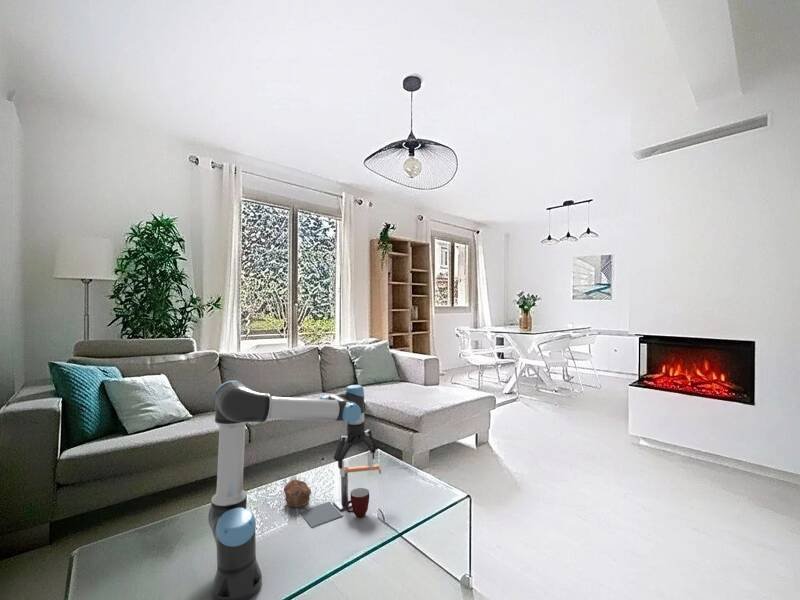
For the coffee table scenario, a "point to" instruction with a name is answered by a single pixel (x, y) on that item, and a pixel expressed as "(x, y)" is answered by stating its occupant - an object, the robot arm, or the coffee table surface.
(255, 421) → the robot arm
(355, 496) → the mug
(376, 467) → the ball-ended drumstick
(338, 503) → the clip post
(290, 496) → the decorative rock
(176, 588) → the coffee table surface
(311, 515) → the mat
